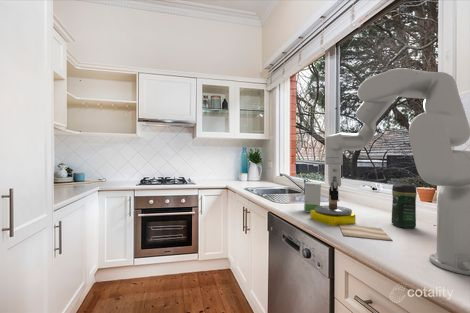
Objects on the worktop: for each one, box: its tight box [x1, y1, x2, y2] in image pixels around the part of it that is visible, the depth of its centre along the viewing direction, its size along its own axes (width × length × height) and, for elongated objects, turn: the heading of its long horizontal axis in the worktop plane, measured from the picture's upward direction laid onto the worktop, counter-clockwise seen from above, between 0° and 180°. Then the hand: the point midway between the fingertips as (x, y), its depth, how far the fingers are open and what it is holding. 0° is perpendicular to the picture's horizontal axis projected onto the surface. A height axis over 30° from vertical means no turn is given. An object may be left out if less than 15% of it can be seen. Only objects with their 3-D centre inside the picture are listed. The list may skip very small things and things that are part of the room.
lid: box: [315, 194, 353, 215], centre depth 118 cm, size 16×16×7 cm
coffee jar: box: [391, 182, 418, 229], centre depth 110 cm, size 10×8×19 cm
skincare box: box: [303, 181, 322, 213], centre depth 137 cm, size 8×7×16 cm
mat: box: [338, 224, 393, 242], centre depth 100 cm, size 16×16×1 cm
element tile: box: [310, 210, 356, 227], centre depth 118 cm, size 15×15×5 cm
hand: (333, 198), depth 117 cm, fingers open, 9 cm apart
